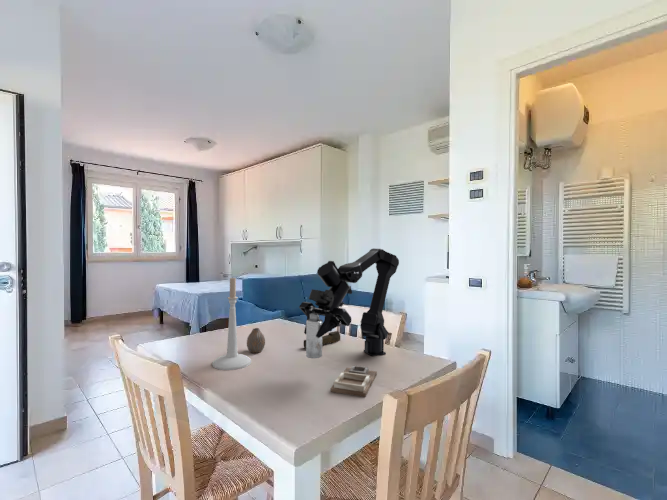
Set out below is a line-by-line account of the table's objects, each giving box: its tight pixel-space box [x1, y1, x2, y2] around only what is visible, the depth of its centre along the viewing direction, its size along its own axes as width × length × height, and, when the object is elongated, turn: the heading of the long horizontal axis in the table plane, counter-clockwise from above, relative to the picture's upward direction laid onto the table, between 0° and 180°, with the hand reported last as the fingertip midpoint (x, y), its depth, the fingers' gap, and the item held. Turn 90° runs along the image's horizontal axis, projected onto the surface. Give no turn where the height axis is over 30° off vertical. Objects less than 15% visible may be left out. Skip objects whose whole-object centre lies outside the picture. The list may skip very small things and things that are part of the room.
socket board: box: [330, 365, 378, 398], centre depth 103 cm, size 17×10×2 cm, turn 162°
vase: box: [246, 327, 266, 354], centre depth 131 cm, size 7×7×9 cm
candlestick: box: [212, 277, 252, 371], centre depth 118 cm, size 13×13×30 cm
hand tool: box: [303, 330, 341, 350], centre depth 141 cm, size 19×4×5 cm, turn 131°
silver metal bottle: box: [305, 313, 324, 359], centre depth 106 cm, size 5×5×13 cm
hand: (311, 335), depth 105 cm, fingers closed on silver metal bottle, 5 cm apart
